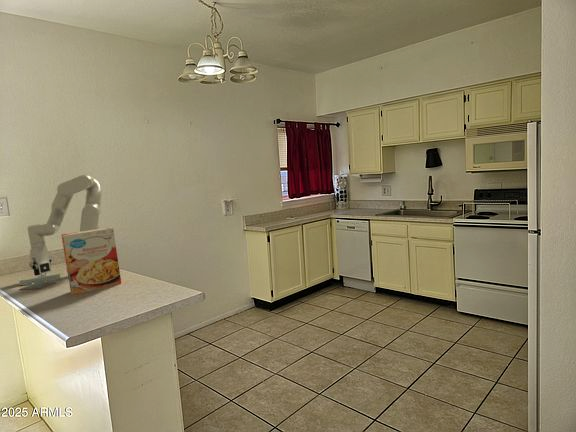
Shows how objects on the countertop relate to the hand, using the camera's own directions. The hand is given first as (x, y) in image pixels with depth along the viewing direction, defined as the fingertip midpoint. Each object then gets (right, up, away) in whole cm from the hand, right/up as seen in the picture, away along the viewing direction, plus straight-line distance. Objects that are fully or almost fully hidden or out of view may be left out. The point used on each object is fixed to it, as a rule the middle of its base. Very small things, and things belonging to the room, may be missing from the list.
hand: (43, 273), depth 234 cm
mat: (+8, -5, -18) cm, 20 cm away
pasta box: (+49, -3, -33) cm, 59 cm away
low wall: (+4, -4, -9) cm, 11 cm away
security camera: (+1, -3, +1) cm, 3 cm away
